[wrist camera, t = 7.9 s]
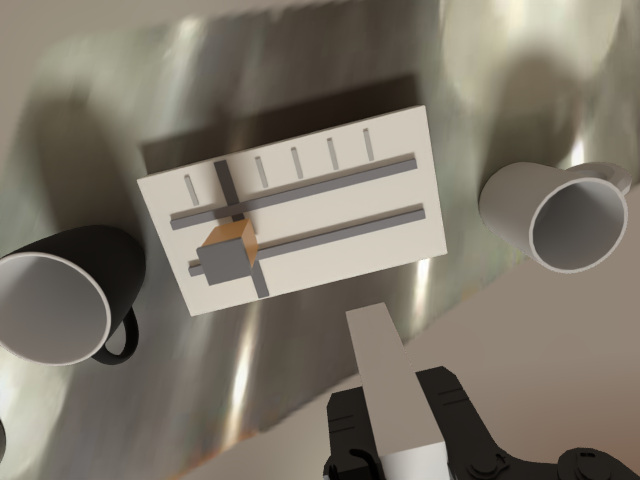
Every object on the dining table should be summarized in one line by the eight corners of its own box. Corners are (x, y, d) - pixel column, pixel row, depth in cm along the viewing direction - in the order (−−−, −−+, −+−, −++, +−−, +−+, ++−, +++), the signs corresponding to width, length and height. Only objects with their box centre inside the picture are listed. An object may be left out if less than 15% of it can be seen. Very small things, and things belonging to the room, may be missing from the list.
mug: (39, 234, 36) (-55, 281, 26) (127, 197, 35) (63, 231, 26) (111, 339, 40) (51, 414, 30) (192, 307, 39) (157, 373, 29)
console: (197, 303, 39) (189, 319, 36) (147, 174, 35) (134, 181, 32) (438, 244, 38) (449, 255, 35) (416, 105, 34) (426, 105, 31)
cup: (463, 190, 36) (512, 216, 28) (561, 126, 35) (644, 132, 27) (497, 250, 39) (552, 290, 30) (592, 191, 37) (678, 216, 29)
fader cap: (224, 256, 34) (209, 285, 28) (213, 226, 33) (195, 250, 27) (260, 247, 34) (252, 275, 28) (250, 216, 33) (240, 239, 27)
